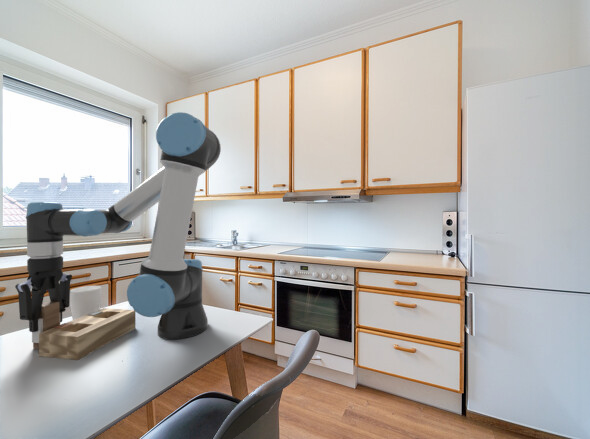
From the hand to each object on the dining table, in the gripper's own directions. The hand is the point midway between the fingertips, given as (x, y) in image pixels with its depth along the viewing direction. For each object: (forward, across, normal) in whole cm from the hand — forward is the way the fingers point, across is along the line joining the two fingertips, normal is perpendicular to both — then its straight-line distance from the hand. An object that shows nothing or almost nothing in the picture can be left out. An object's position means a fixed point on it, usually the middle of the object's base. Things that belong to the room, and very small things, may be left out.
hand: (46, 338), depth 77 cm
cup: (+2, -16, -4) cm, 17 cm away
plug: (+2, 0, 0) cm, 2 cm away
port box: (+2, -5, +10) cm, 11 cm away
